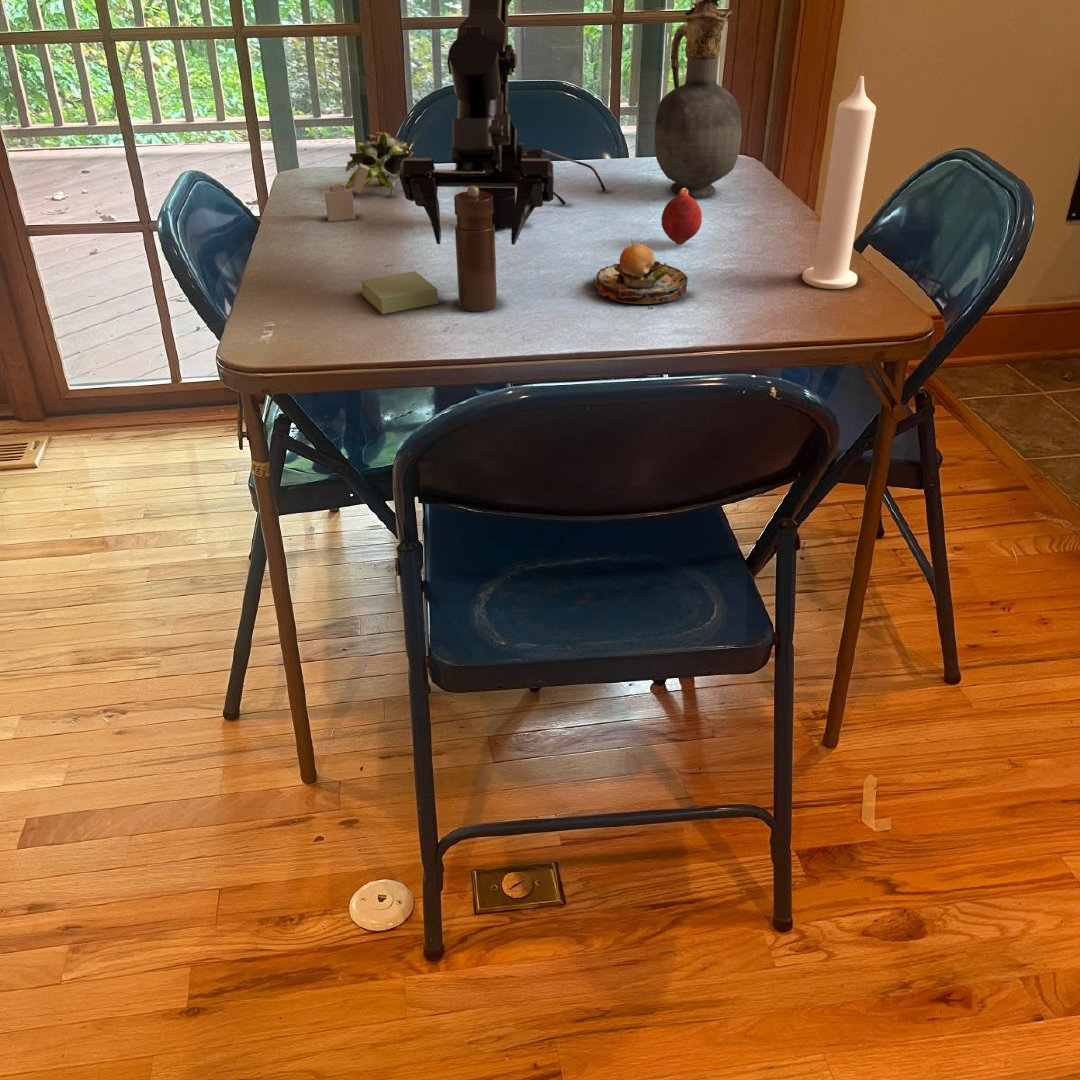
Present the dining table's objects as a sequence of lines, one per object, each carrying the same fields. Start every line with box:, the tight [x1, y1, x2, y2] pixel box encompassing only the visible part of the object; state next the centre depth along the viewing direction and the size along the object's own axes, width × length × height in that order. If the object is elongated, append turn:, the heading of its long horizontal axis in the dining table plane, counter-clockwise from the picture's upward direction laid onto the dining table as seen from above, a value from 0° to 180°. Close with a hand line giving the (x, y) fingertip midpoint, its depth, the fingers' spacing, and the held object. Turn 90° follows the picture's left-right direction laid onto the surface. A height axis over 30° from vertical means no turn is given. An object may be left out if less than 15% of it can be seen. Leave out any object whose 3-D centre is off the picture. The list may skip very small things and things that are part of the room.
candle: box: [801, 75, 877, 290], centre depth 126 cm, size 7×7×25 cm
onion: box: [660, 188, 703, 246], centre depth 144 cm, size 6×6×8 cm
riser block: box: [360, 270, 439, 315], centre depth 128 cm, size 8×8×2 cm
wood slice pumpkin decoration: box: [594, 238, 689, 305], centre depth 129 cm, size 12×12×8 cm
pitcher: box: [654, 0, 743, 199], centre depth 162 cm, size 11×19×30 cm, turn 17°
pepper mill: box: [453, 186, 498, 313], centre depth 122 cm, size 5×5×15 cm
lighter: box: [324, 163, 369, 222], centre depth 156 cm, size 7×2×8 cm, turn 106°
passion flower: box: [345, 131, 415, 198], centre depth 169 cm, size 11×11×12 cm
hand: (475, 242), depth 122 cm, fingers open, 9 cm apart
